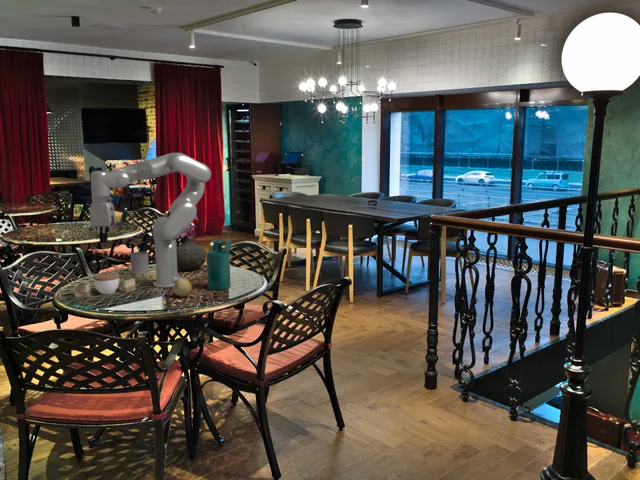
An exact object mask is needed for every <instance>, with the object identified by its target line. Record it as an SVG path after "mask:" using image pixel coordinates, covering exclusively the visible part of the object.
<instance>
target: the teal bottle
mask: <svg viewBox="0 0 640 480" xmlns="http://www.w3.org/2000/svg"><path fill="white" fill-rule="evenodd" d="M211 243H212V244H213V250H210V251H208V252H207V253H206V269H207V289H208V290H211V291H219V292H220V291H225V290H227V289H229V288H231V263H230V262H231V260H230V259H231V256H230V251H231V248H232V240H231V239H228V240H225V241H224V240H220V239H219V240H212V241H211ZM223 245H225V246H224V249H223Z"/></svg>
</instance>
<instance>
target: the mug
mask: <svg viewBox="0 0 640 480" xmlns="http://www.w3.org/2000/svg"><path fill="white" fill-rule="evenodd" d="M149 264H150V263H149V252H148V251H134V252H131V253H130V268H131V269H130V270H131V273H130V274H132V275H145V273H146V274H149V273H148V272H150V267H149V266H150V265H149Z"/></svg>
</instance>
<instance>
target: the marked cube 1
mask: <svg viewBox="0 0 640 480" xmlns="http://www.w3.org/2000/svg"><path fill="white" fill-rule="evenodd" d="M92 293H93V291H92V283H91V282H79V283H77V284H75V285H74V294H75V295H74V296H75V298H87V297H89V296H91V295H92Z"/></svg>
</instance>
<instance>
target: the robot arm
mask: <svg viewBox="0 0 640 480" xmlns="http://www.w3.org/2000/svg"><path fill="white" fill-rule="evenodd" d="M175 172H177V173H180V174H181V175H183V176H185V177H186V186H185V188H184V189H183V191H182V192H181V193H180V194H179V195H178V197H177V198H176V199H175V200H174V201H173V202H172V203H171V205H170V207H169V213H170V215H169V216H168V217H167V216H160V217H158V218H156V219H155V221H154V222H153V224H152V234H153V240H154V253H155V254H154V255H155V270H156V271H155V272H156V280H155V281H153V283H152V284H153V285H152V286H153V287H156V288H173V286H174V284H175V282H176V281H177V280H178V279H186V278H185V277H183V276H180V274H179V273H178V266H177V249H176V248H177V241H176V240H177V239H178V238H179V237H181V234H182V233H183V232H184V231H185V229H186V228H187V227H188V226H189V225H190V223H191V224H192V223H193V221H195V220H194V218H195V216H197V212H198V211H197V207H196V206H197V204H198V203H199V202H200V200H201V198H202V197H203V195H204V193H205V183H207V182H208V181H209V180H210V179H211V176H212V170H211V169H210V168H209V166H208V165H206V164H205V163H202V162H200V161H198V160H196V159H194V158H193V157H190V156H188V155H187V154H185V153H182V152H169V153H166V154H163V155H161V156H156V157H153V158H150V159H146V160H141V161H140V162H136V163H132V164H129V165H125V166H122V167H121V166H120V167H118V168H115V169H112V170H110V171H105V170H94V171H92V172H91V173H90V187H91V190H90V191H91V202H92V203H90V212H89V220H90V221H89V222H90V225H91V228H92V229H94V230H96V231H97V234H99V235H98V237H99V242H100V243H108V237H109V236H108V233H109V232H110V230H114V229H115V225H116V223H117V219H116V211H115V207H114V203H113V202H112V201H113V197H111V196H112V195H111V188H115V189H116V188H118V189H123V188H126V187H127V186H128V185H129V183H132V182H137V181H143V180H144V181H146V180H153V179H157V178H159V177H162V176H165V175H170V174H172V173H175Z"/></svg>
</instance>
